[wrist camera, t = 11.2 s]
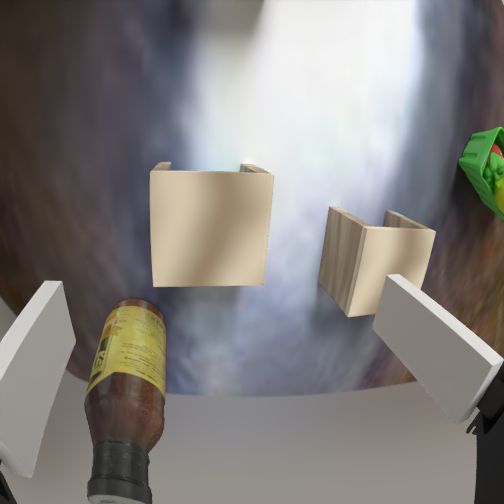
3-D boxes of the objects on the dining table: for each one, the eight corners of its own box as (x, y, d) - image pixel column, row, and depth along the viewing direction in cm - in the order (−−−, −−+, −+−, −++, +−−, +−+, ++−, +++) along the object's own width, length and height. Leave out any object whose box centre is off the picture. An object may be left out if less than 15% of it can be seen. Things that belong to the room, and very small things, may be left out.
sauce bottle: (107, 292, 28) (51, 472, 10) (168, 298, 30) (168, 490, 11) (110, 344, 30) (80, 512, 12) (166, 349, 32) (170, 523, 14)
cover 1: (160, 250, 28) (153, 286, 21) (159, 162, 25) (150, 172, 18) (246, 250, 29) (263, 285, 23) (252, 164, 26) (274, 175, 20)
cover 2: (317, 281, 32) (347, 317, 26) (329, 206, 29) (367, 228, 23) (378, 278, 34) (414, 308, 28) (393, 211, 31) (435, 231, 25)
